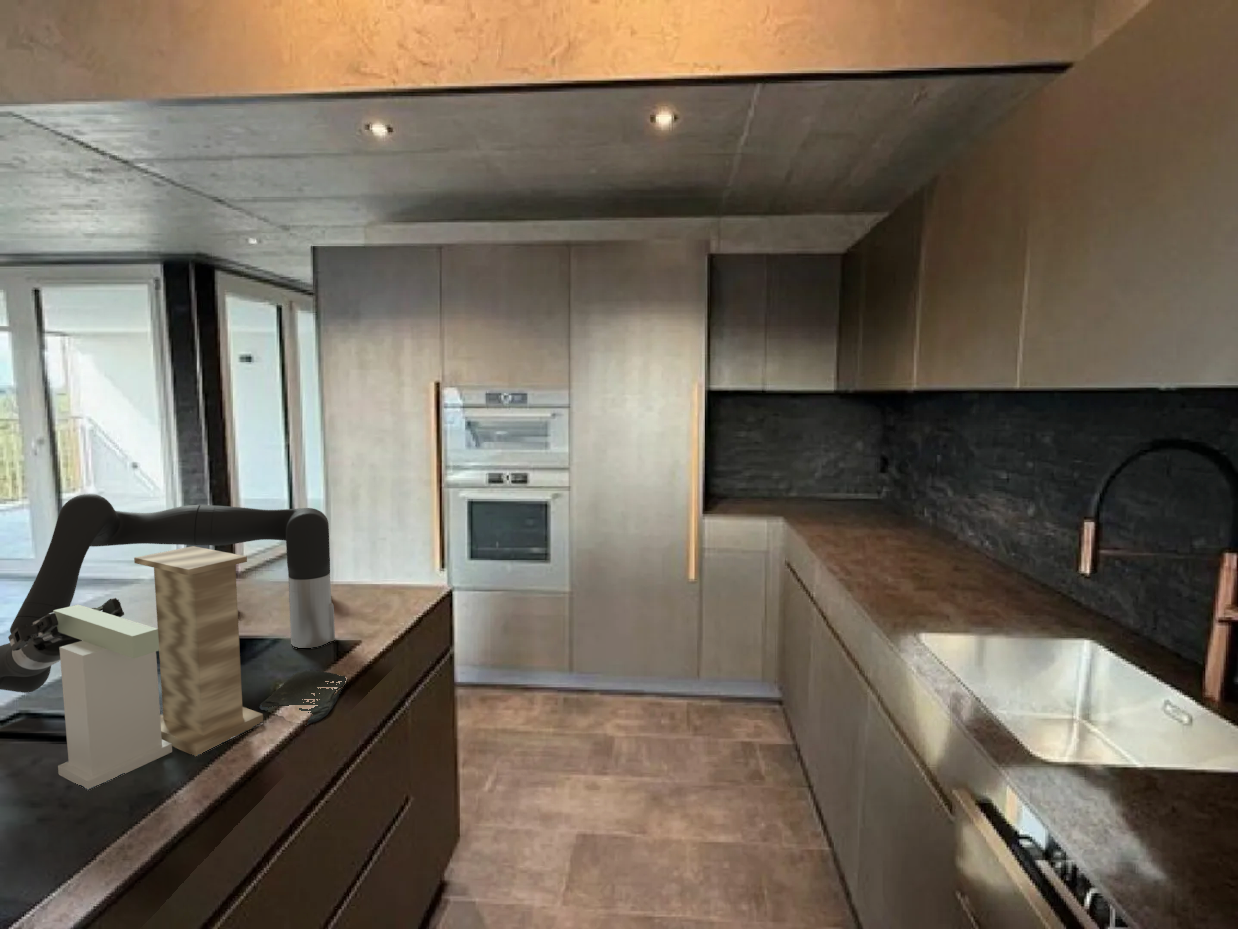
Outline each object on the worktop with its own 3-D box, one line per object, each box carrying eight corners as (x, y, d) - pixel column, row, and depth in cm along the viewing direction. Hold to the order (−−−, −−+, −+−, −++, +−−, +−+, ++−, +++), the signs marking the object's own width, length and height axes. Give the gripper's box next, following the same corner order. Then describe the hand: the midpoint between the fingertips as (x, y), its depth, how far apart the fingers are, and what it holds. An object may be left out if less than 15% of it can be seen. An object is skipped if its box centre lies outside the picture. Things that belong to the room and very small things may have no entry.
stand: (139, 732, 113) (127, 558, 110) (207, 703, 124) (198, 545, 121) (196, 756, 106) (185, 571, 103) (263, 724, 117) (255, 555, 113)
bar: (54, 630, 105) (53, 610, 105) (79, 624, 108) (78, 604, 108) (133, 658, 95) (132, 636, 94) (159, 650, 98) (157, 628, 98)
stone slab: (255, 686, 133) (254, 677, 132) (341, 669, 142) (341, 660, 141) (261, 738, 113) (261, 728, 112) (361, 714, 122) (361, 704, 122)
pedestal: (58, 774, 100) (48, 648, 98) (142, 738, 111) (134, 624, 109) (88, 790, 96) (78, 659, 94) (172, 752, 107) (164, 633, 105)
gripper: (-13, 635, 105) (23, 601, 98) (88, 610, 118) (127, 579, 111) (1, 677, 104) (38, 646, 97) (102, 647, 117) (142, 618, 110)
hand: (86, 610), depth 104 cm, fingers open, 8 cm apart
